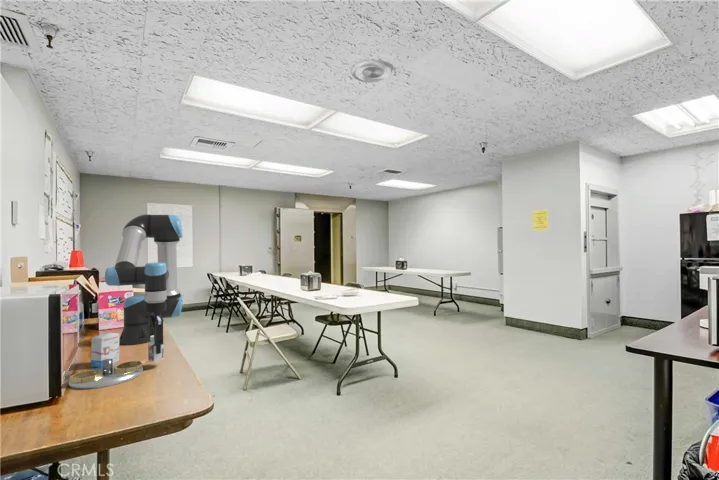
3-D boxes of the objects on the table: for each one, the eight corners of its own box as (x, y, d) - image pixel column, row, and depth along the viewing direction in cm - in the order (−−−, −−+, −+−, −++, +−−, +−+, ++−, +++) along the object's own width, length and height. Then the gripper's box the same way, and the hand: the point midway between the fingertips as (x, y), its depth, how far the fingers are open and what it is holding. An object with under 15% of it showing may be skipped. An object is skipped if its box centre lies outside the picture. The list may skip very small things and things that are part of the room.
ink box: (100, 367, 137) (100, 337, 138) (90, 367, 138) (90, 337, 139) (119, 360, 146) (119, 332, 146) (109, 360, 147) (109, 332, 147)
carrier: (98, 367, 138) (98, 351, 138) (154, 365, 139) (154, 350, 139) (51, 390, 116) (51, 371, 116) (118, 388, 117) (118, 369, 117)
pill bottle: (145, 362, 136) (145, 337, 136) (152, 358, 141) (152, 334, 141) (159, 362, 136) (159, 337, 136) (166, 357, 141) (166, 333, 141)
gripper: (140, 299, 143) (140, 355, 143) (149, 305, 129) (150, 368, 129) (160, 297, 148) (161, 351, 148) (172, 303, 134) (172, 363, 134)
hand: (156, 359), depth 138 cm, fingers closed on pill bottle, 5 cm apart
